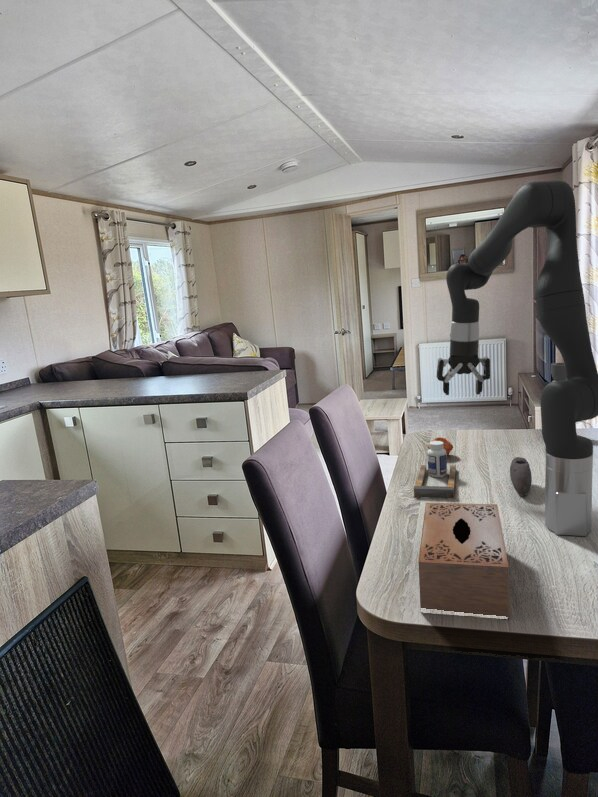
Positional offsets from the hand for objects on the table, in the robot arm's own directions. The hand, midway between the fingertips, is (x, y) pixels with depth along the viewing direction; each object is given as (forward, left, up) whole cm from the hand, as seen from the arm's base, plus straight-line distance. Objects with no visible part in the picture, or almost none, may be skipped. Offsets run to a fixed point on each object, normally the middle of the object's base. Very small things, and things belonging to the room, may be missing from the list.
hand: (462, 394), depth 155 cm
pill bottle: (-1, +7, -24) cm, 25 cm away
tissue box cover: (-58, -1, -24) cm, 63 cm away
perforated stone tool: (-11, -14, -24) cm, 30 cm away
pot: (+16, +7, -24) cm, 30 cm away
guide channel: (-8, +7, -24) cm, 26 cm away
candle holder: (+39, -31, -24) cm, 55 cm away
